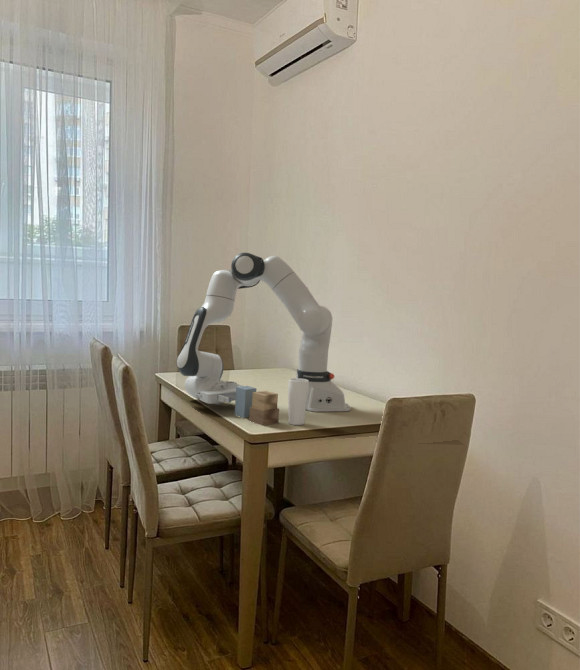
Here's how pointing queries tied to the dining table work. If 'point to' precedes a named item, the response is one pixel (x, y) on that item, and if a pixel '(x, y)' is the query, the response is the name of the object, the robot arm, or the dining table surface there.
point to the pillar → (243, 400)
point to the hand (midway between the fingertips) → (240, 398)
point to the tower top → (264, 400)
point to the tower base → (264, 416)
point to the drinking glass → (297, 400)
